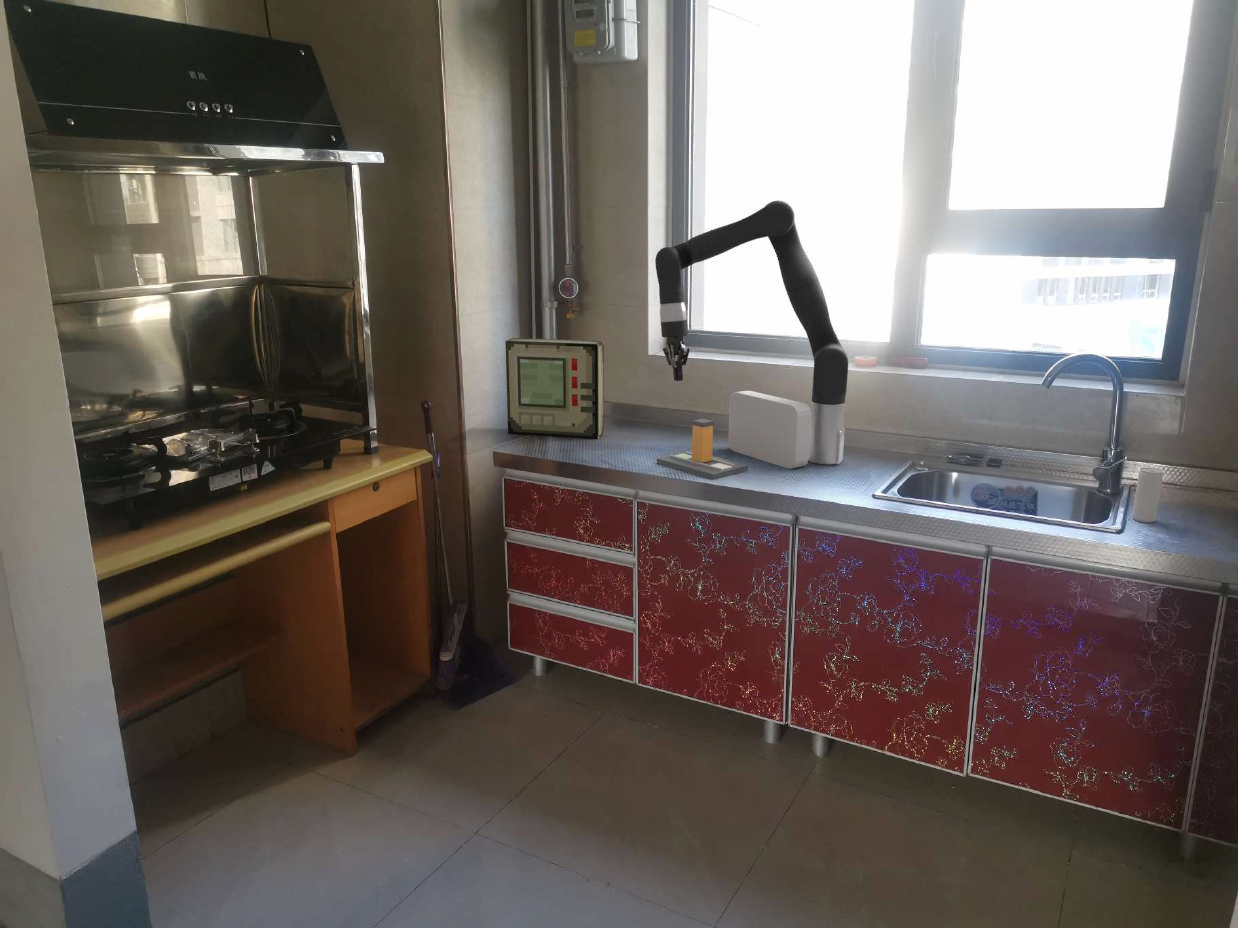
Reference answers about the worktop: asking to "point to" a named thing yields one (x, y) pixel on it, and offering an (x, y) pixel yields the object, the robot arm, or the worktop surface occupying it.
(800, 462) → the rounded white slab
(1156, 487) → the beverage can
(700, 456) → the handle
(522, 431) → the control panel
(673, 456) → the plate
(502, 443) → the worktop surface
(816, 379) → the robot arm
